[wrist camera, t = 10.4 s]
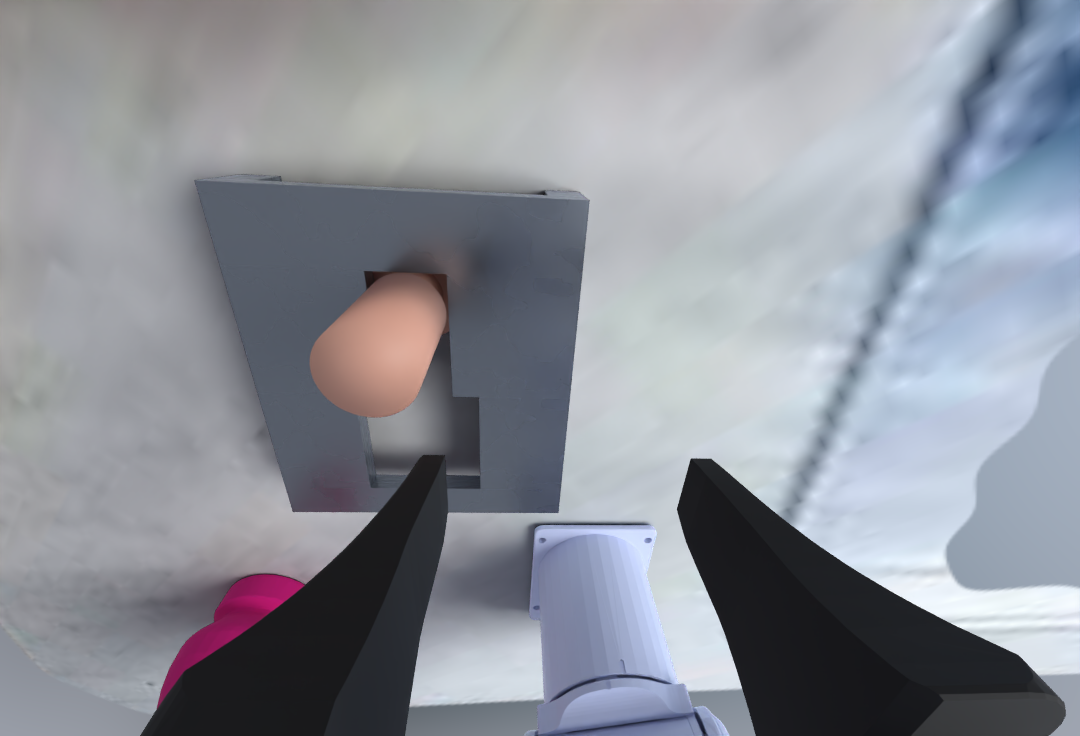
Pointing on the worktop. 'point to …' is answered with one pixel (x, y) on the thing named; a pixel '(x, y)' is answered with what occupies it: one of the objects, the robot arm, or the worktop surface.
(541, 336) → the keyhole plate
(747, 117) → the worktop surface
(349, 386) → the peg
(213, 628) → the pepper mill
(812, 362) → the worktop surface
